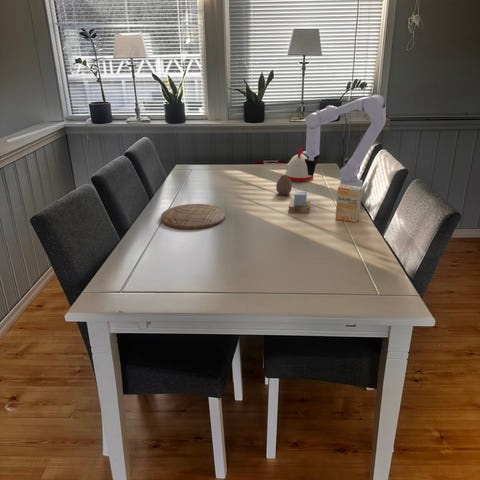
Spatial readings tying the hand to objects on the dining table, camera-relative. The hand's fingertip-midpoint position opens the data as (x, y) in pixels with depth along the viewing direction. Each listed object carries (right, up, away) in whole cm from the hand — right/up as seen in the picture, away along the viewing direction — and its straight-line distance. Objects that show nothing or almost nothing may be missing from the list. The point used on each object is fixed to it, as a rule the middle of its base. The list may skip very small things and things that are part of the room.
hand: (311, 172), depth 197 cm
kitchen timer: (-1, +2, +30) cm, 30 cm away
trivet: (-50, -21, -20) cm, 58 cm away
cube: (-7, -15, -15) cm, 22 cm away
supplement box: (+10, -22, -25) cm, 34 cm away
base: (-7, -18, -14) cm, 23 cm away
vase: (-12, -9, +5) cm, 16 cm away
